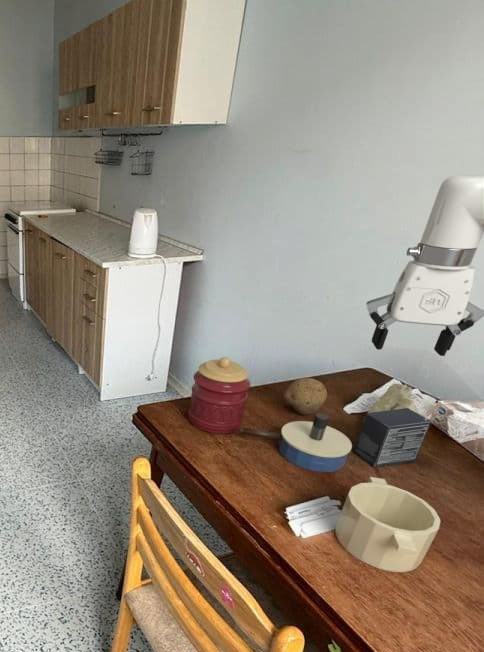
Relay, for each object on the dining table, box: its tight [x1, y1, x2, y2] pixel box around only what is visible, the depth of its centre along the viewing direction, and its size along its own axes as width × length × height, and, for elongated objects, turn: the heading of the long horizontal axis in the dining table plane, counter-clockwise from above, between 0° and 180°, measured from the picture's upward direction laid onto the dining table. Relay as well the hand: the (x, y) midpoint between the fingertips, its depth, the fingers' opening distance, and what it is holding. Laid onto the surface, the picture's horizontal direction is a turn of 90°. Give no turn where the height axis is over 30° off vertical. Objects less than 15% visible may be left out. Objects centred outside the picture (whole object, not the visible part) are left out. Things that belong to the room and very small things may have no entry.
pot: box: [334, 476, 442, 573], centre depth 81 cm, size 13×18×8 cm
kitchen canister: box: [187, 356, 251, 435], centre depth 116 cm, size 13×13×18 cm
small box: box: [352, 408, 433, 468], centre depth 103 cm, size 11×6×10 cm, turn 100°
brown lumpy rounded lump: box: [284, 377, 328, 416], centre depth 120 cm, size 9×9×10 cm
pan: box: [277, 437, 350, 473], centre depth 106 cm, size 13×13×4 cm
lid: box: [280, 412, 353, 458], centre depth 103 cm, size 14×14×7 cm
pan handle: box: [237, 426, 282, 441], centre depth 109 cm, size 10×2×2 cm, turn 70°
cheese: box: [363, 382, 419, 421], centre depth 115 cm, size 15×7×15 cm
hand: (407, 349), depth 87 cm, fingers open, 9 cm apart
